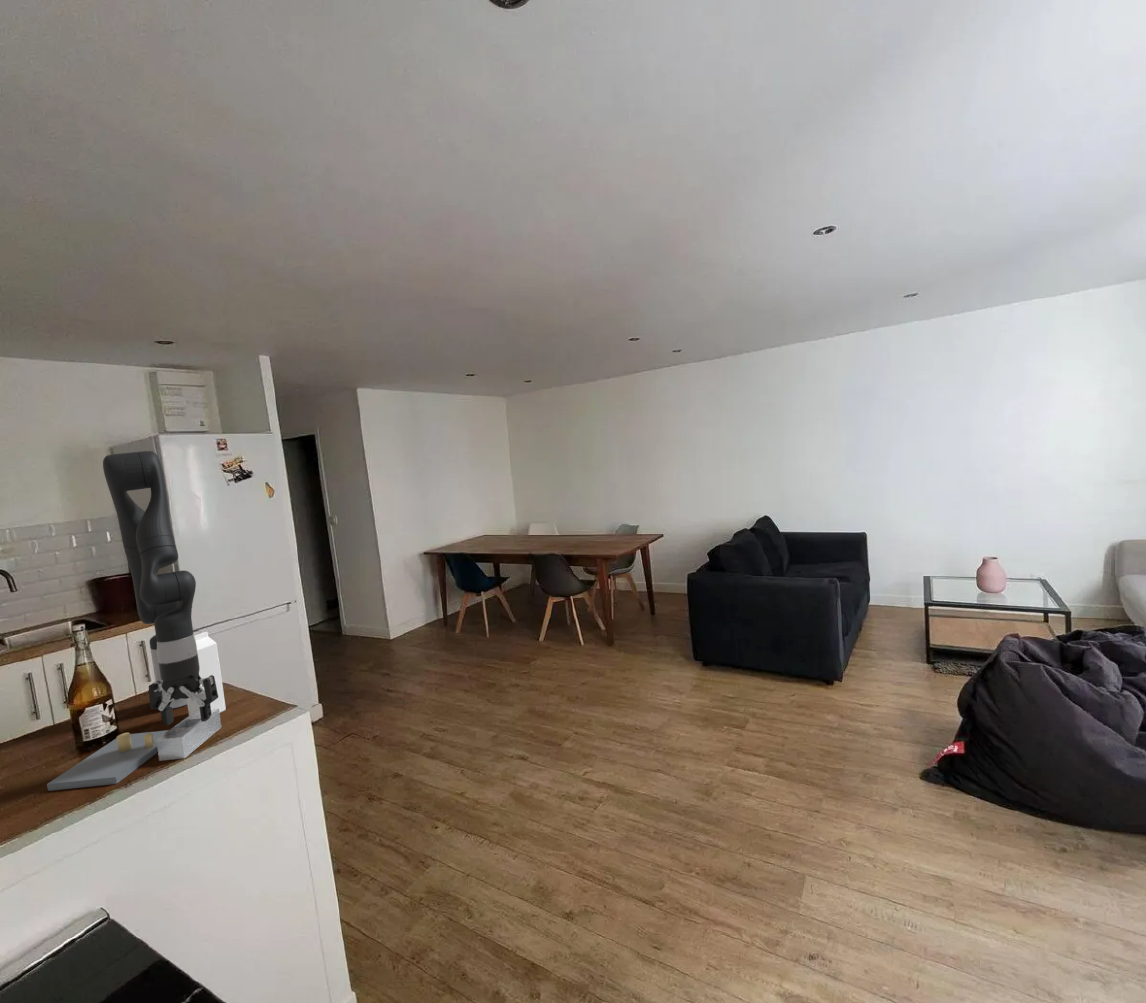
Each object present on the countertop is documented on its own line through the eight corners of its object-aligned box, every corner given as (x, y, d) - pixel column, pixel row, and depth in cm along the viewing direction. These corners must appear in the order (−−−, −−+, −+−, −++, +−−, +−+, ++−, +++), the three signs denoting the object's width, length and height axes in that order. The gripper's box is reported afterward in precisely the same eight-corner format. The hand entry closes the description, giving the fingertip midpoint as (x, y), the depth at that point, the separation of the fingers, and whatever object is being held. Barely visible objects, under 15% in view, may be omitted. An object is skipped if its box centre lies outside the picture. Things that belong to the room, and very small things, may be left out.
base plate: (122, 740, 133) (119, 721, 132) (180, 735, 133) (177, 715, 133) (48, 790, 113) (44, 768, 112) (116, 783, 113) (113, 761, 113)
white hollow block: (184, 758, 122) (181, 737, 121) (159, 760, 122) (156, 739, 121) (221, 727, 136) (218, 708, 135) (198, 729, 136) (196, 710, 135)
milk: (189, 718, 143) (176, 638, 141) (211, 707, 148) (199, 630, 146) (205, 720, 140) (192, 639, 139) (226, 709, 146) (215, 631, 144)
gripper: (218, 647, 131) (227, 711, 132) (158, 653, 130) (168, 717, 131) (198, 658, 123) (208, 726, 124) (134, 665, 123) (145, 733, 124)
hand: (187, 722), depth 128 cm, fingers open, 8 cm apart
